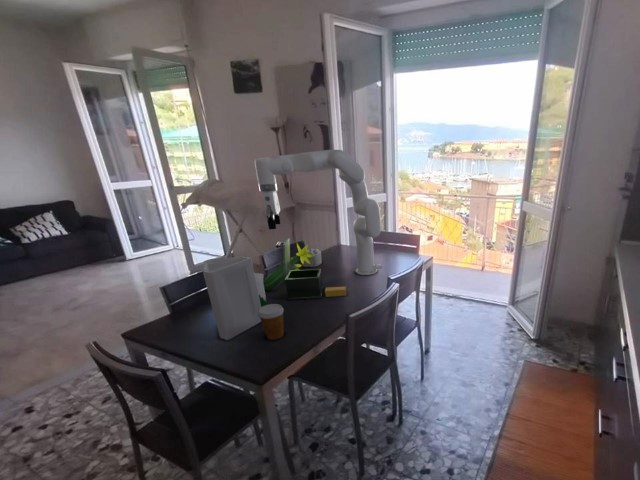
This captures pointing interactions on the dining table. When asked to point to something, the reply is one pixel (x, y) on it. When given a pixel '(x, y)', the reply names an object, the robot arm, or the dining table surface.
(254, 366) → the dining table surface
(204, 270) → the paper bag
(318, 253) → the lumpy-topped squat cylinder
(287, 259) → the bin lid
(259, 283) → the milk carton
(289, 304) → the dining table surface
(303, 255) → the daffodil flowers
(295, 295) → the waste bin
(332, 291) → the yellow rectangular block
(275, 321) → the disposable coffee cup
